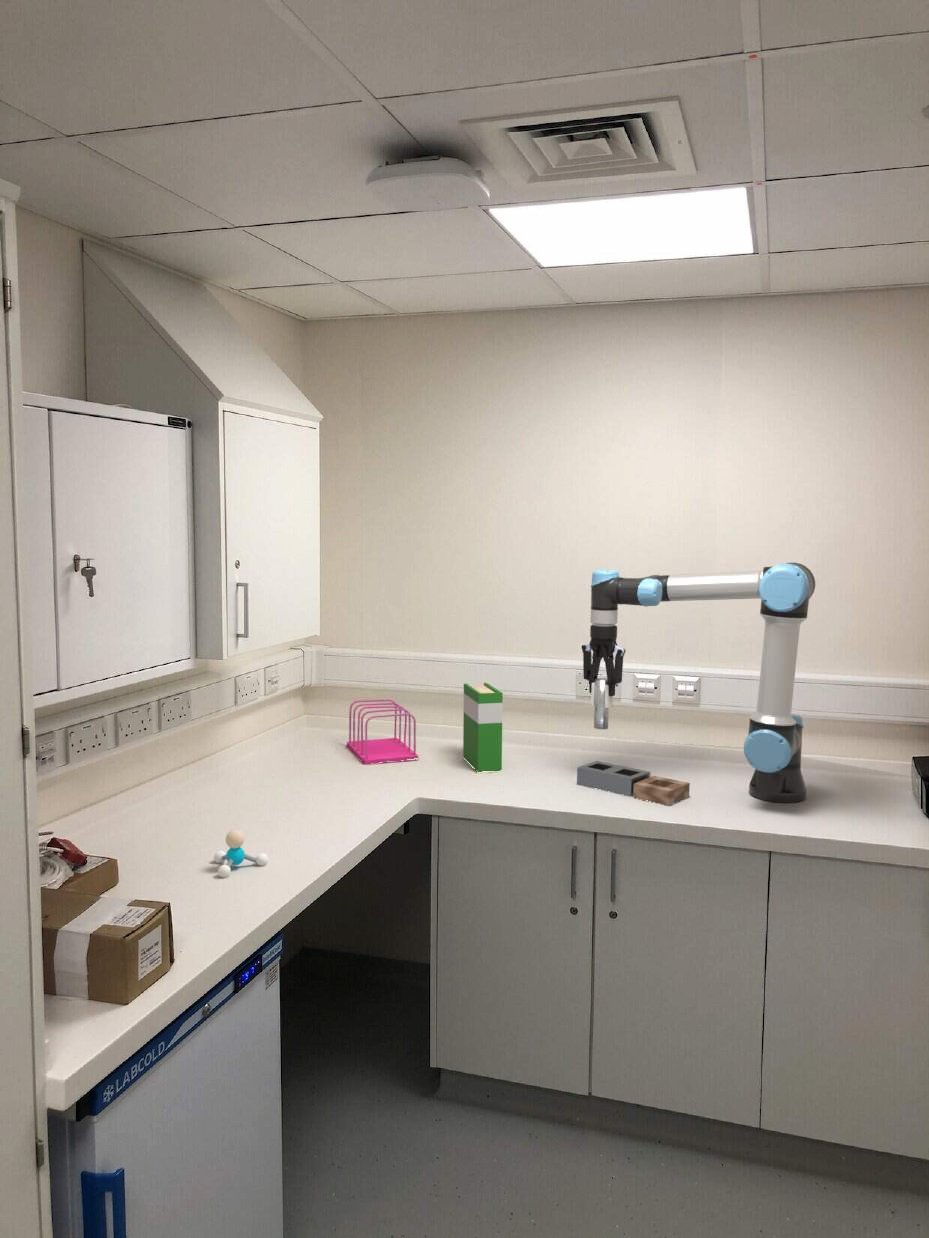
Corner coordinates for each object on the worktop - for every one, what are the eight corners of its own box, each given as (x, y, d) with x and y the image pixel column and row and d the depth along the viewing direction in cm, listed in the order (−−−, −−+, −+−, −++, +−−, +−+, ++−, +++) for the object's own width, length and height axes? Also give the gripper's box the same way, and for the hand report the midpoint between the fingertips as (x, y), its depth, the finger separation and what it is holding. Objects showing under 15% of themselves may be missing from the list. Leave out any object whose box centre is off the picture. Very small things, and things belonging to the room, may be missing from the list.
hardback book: (463, 758, 307) (463, 683, 304) (485, 757, 309) (486, 682, 306) (477, 773, 290) (478, 693, 287) (501, 771, 292) (502, 692, 289)
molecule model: (234, 883, 204) (234, 843, 203) (191, 873, 209) (190, 833, 208) (270, 865, 215) (270, 826, 214) (228, 855, 220) (228, 818, 219)
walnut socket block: (689, 797, 267) (689, 782, 266) (668, 806, 259) (669, 791, 258) (654, 789, 274) (654, 775, 274) (633, 797, 266) (633, 783, 265)
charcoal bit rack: (649, 789, 274) (650, 771, 274) (631, 796, 267) (631, 779, 266) (596, 777, 286) (596, 760, 286) (576, 784, 279) (577, 767, 278)
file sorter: (397, 743, 328) (397, 697, 326) (418, 761, 304) (418, 711, 303) (346, 746, 322) (346, 700, 320) (364, 765, 299) (364, 715, 297)
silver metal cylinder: (610, 727, 278) (612, 679, 276) (603, 730, 275) (604, 681, 273) (599, 725, 280) (600, 677, 279) (591, 727, 277) (592, 679, 276)
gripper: (637, 626, 271) (634, 708, 274) (586, 620, 283) (584, 700, 285) (622, 628, 266) (620, 712, 268) (571, 623, 277) (569, 703, 280)
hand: (601, 705), depth 277 cm, fingers closed on silver metal cylinder, 4 cm apart
